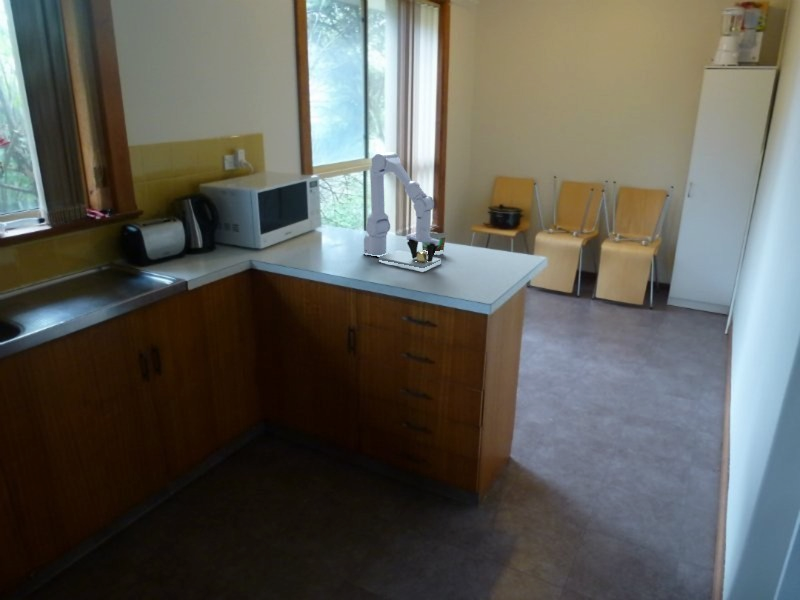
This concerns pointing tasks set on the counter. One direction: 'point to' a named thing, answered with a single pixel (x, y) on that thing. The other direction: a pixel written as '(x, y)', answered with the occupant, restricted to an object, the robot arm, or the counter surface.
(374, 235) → the robot arm
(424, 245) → the food container
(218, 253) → the counter surface
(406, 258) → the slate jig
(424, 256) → the gold metal cylinder
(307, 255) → the counter surface
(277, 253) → the counter surface
